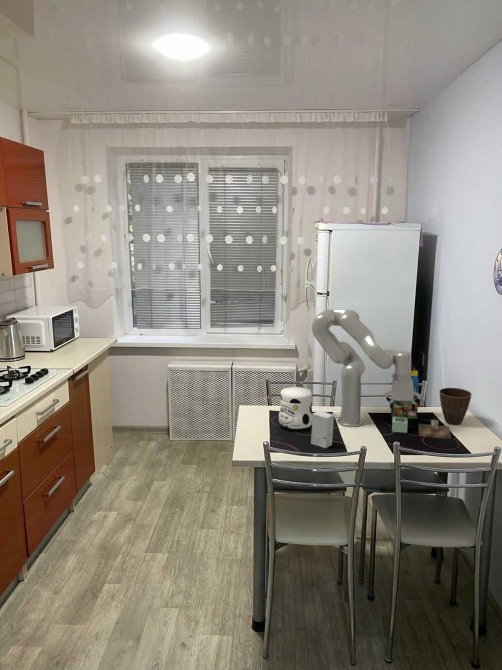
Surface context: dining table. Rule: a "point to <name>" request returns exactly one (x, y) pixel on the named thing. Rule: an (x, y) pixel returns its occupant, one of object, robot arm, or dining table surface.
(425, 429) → the post base
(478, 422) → the dining table surface
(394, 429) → the pale green box
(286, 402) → the milk container
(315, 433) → the skincare box
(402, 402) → the blue food package
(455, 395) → the plant pot
